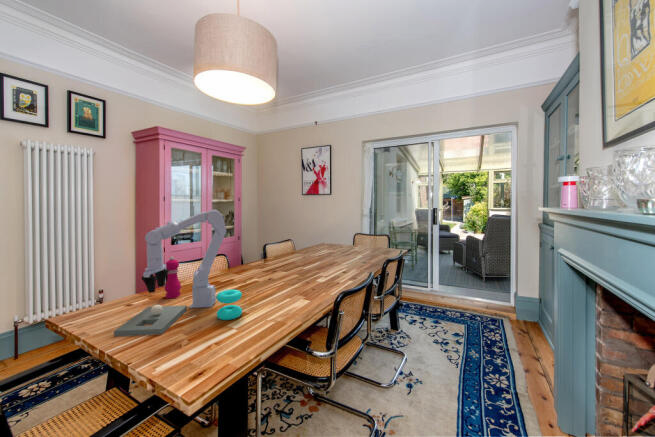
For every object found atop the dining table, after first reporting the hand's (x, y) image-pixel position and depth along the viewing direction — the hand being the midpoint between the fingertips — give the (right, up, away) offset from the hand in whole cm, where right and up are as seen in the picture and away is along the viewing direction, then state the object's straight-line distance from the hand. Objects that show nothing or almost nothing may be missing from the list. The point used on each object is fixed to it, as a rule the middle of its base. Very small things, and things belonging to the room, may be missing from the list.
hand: (156, 289), depth 119 cm
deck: (+6, -10, -10) cm, 15 cm away
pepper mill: (-3, -9, +19) cm, 21 cm away
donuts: (+33, -10, -5) cm, 35 cm away
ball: (+5, -6, -9) cm, 12 cm away
